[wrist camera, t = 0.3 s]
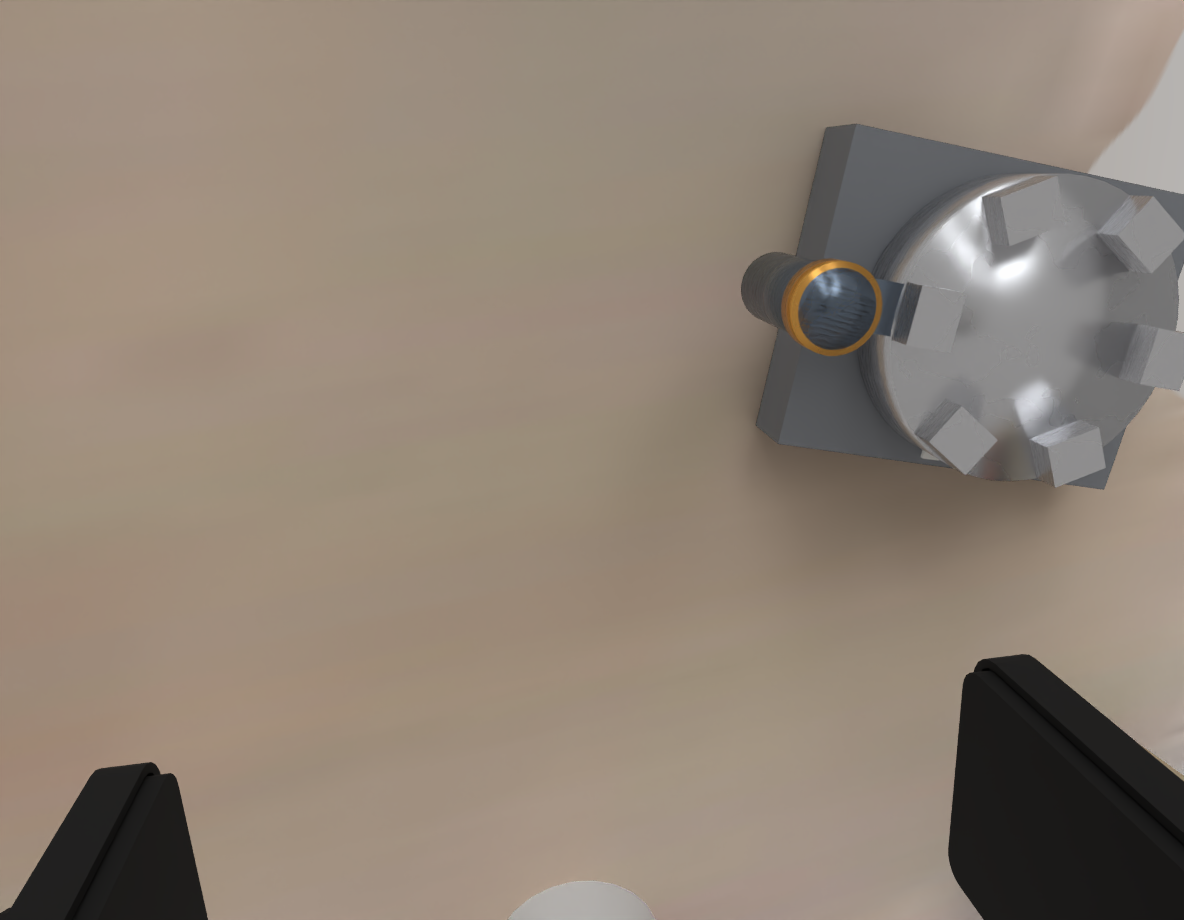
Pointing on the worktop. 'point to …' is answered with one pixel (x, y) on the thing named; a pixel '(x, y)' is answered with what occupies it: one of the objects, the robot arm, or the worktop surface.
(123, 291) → the worktop surface
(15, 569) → the worktop surface
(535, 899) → the base with upright slab
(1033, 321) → the gold-rimmed tube plate
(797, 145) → the worktop surface
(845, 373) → the grey rectangular base plate
